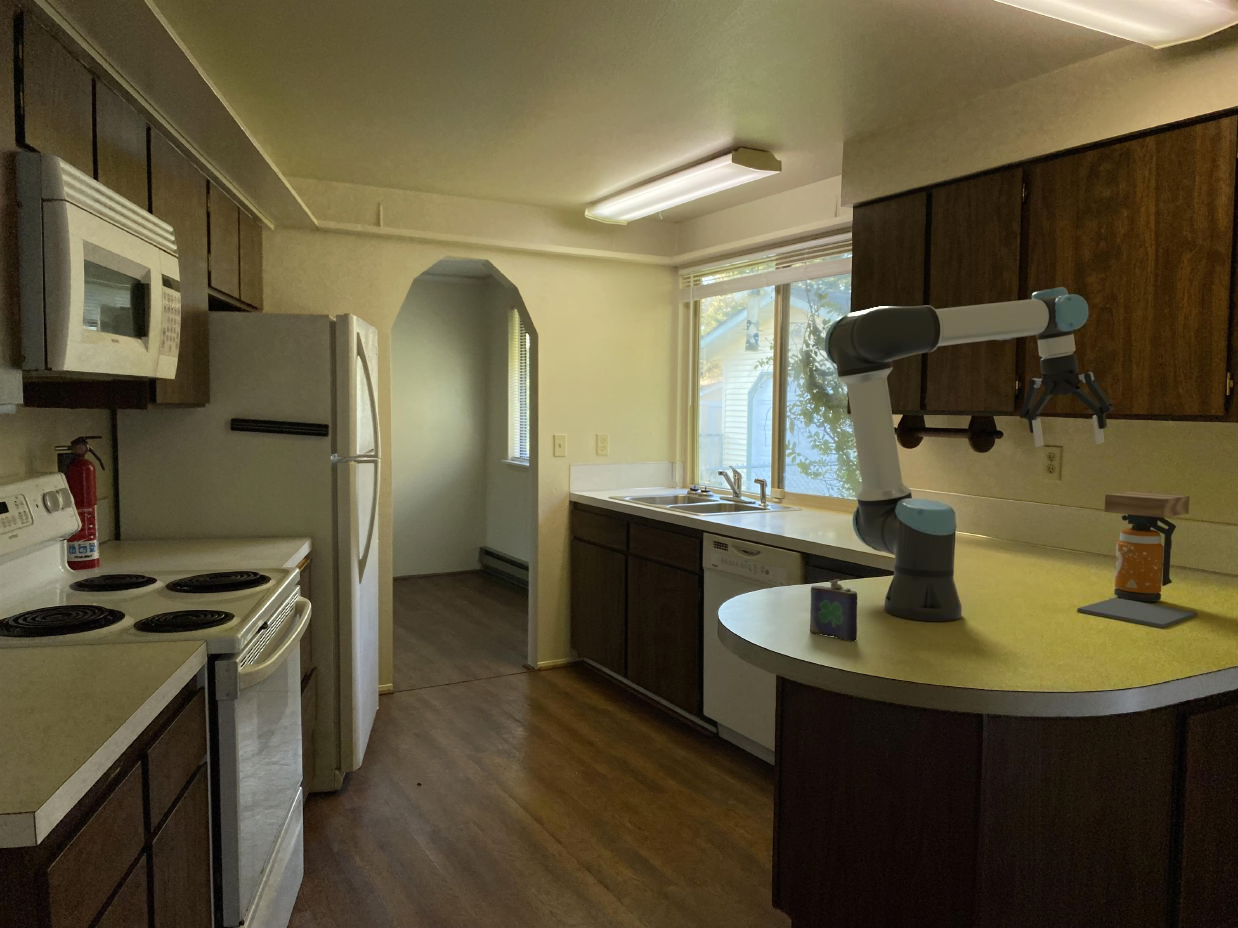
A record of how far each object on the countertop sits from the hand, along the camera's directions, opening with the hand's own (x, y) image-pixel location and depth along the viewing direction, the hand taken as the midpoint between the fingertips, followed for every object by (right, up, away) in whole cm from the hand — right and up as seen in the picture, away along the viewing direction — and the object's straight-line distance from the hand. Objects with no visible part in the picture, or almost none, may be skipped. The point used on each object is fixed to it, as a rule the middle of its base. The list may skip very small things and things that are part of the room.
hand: (1069, 444), depth 190 cm
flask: (-66, -37, -40) cm, 86 cm away
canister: (+13, -36, -6) cm, 39 cm away
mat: (+3, -36, -20) cm, 41 cm away
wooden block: (+13, -16, -7) cm, 22 cm away
